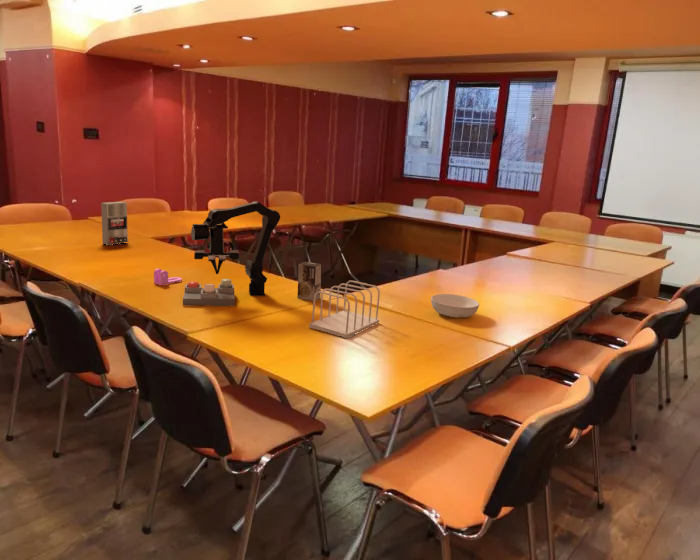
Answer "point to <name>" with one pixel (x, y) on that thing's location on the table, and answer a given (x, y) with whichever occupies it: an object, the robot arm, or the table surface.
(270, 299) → the table surface
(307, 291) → the coffee box
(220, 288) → the control panel
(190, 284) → the red button
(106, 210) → the cassette tape recorder
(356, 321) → the file sorter
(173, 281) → the bracket
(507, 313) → the table surface
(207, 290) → the cream button
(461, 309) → the serving bowl
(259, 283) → the robot arm
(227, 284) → the sage button
